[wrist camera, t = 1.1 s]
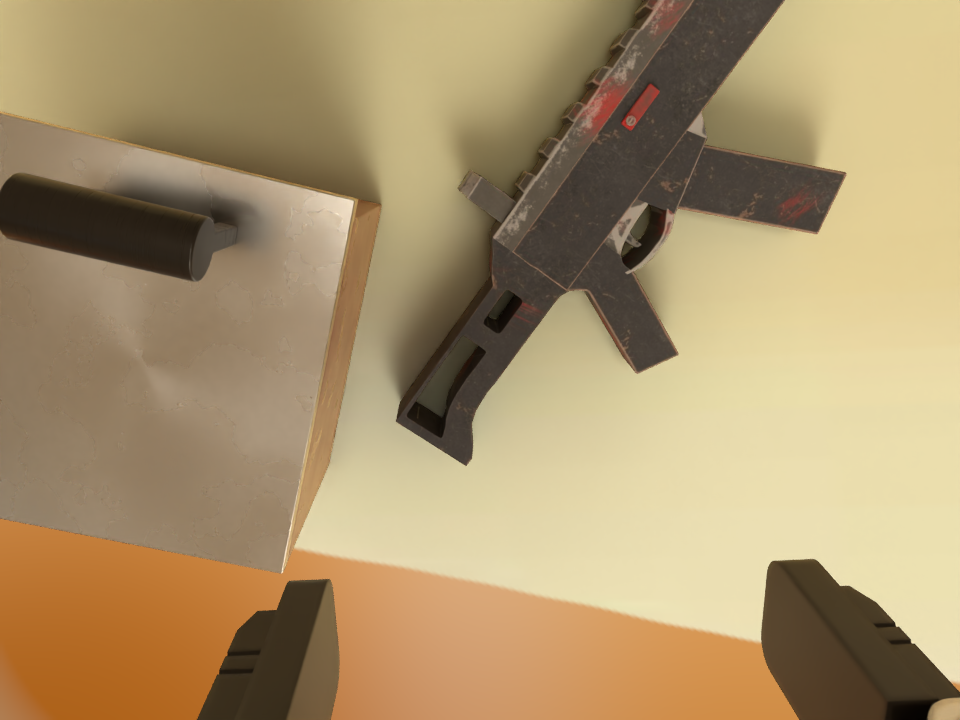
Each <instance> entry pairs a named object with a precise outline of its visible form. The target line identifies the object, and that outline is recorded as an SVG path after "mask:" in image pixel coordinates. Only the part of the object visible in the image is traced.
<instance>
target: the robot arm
mask: <svg viewBox="0 0 960 720" xmlns="http://www.w3.org/2000/svg"><path fill="white" fill-rule="evenodd" d="M336 626H337V625H336V616H335V605H334V595H333V587H332V583H331V580H330V579H323V580H300V581H289V582H288V583H287V585H286V587H285V590H284V592H283V595H282V597H281V600H280V603H279V605H278V608H277V610H269V611H257V612H256V613H255V614H254V615H253V616H252V617H251V618H250V619H249V620H248V621H247V622H246V623H245V624H244V625H242V626H241V627H240V628H239V629H238V630H237V633H236V634H235V637H234V639H233V641H232V643H231V646H230V648H229V650H228V655H227V656H226V657H225V659H224V661H223V663H222V666H221V668H220V670H219V675H217V676H216V679H215V681H214V683H213V685H212V688H211V690H210V692H209V694H208V696H207V699H206V701H205V703H204V705H203V708H202V710H201V712H200V714H199V717H198V719H197V720H331V715H332V711H333V706H334V702H335V697H336V693H337V688H338V679H339V646H338V636H337V627H336ZM761 640H762V648H763V653H764V657H765V660H766V663H767V666H768V668H769V670H770V672H771V673H772V675H773V677H774V678H775V680H776V682H777V683H778V685H779V687H780V688H781V690H782V692H783V693H784V695H785V696H786V698H787V700H788V701H789V703H790V705H791V706H792V708H793V710H794V712H795V713H796V715H797V717H798V718H799V720H960V692H959V691H958V690H957V689H956V688H955V687H954V686H953V684H952V683H951V682H950V681H949V680H948V679H947V678H946V677H945V676H944V675H943V674H942V673H941V672H940V670H939V669H938V668H937V667H936V666H935V665H934V664H933V663H932V662H931V661H930V660H929V659H928V658H927V656H926V655H925V654H924V653H923V652H922V651H921V650H920V649H919V648H918V647H917V646H916V645H915V644H912V643H911V639H910V638H909V637H908V636H907V635H906V634H905V633H904V632H903V631H902V630H901V629H900V627H896V625H895V622H894V621H893V620H892V619H891V618H890V617H889V616H888V615H887V613H886V612H885V611H884V610H883V609H882V608H881V607H880V606H879V605H878V604H877V603H876V602H875V601H873V600H871V599H870V598H868V597H866V596H865V595H863V594H862V593H860V592H858V591H857V590H855V589H853V588H852V587H850V586H839V584H838V583H837V582H836V581H835V580H834V579H833V578H832V576H831V575H830V574H829V573H828V572H827V571H826V570H825V569H824V567H823V566H822V565H821V564H820V563H819V562H818V561H816V560H814V559H805V560H782V561H772V562H771V563H770V565H769V567H768V570H767V579H766V589H765V600H764V610H763V620H762V631H761Z"/></svg>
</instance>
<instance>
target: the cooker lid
mask: <svg viewBox="0 0 960 720" xmlns="http://www.w3.org/2000/svg"><path fill="white" fill-rule="evenodd" d="M357 203H358V199H357V198H353V197H348V196H344V195H340V194H336V193H332V192H328V191H324V190H320V189H316V188H312V187H308V186H304V185H299V184H295V183H291V182H287V181H283V180H279V179H275V178H271V177H267V176H263V175H259V174H254V173H250V172H246V171H242V170H238V169H234V168H230V167H226V166H222V165H218V164H214V163H210V162H205V161H201V160H197V159H193V158H189V157H185V156H181V155H177V154H173V153H169V152H165V151H161V150H156V149H152V148H148V147H144V146H140V145H136V144H132V143H128V142H124V141H120V140H116V139H111V138H107V137H103V136H99V135H95V134H91V133H87V132H83V131H79V130H75V129H71V128H67V127H62V126H58V125H54V124H50V123H46V122H42V121H38V120H34V119H30V118H26V117H22V116H17V115H13V114H9V113H5V112H1V111H0V519H5V520H10V521H15V522H20V523H25V524H30V525H36V526H40V527H46V528H51V529H56V530H61V531H66V532H72V533H76V534H81V535H87V536H92V537H97V538H102V539H107V540H113V541H117V542H123V543H128V544H133V545H138V546H143V547H149V548H153V549H158V550H164V551H169V552H174V553H179V554H184V555H189V556H194V557H199V558H205V559H210V560H215V561H220V562H225V563H230V564H235V565H240V566H245V567H251V568H256V569H261V570H266V571H271V572H276V573H283V571H284V569H285V567H286V564H287V561H288V555H289V550H290V545H291V540H292V535H293V530H294V525H295V520H296V515H297V510H298V504H299V499H300V494H301V489H302V484H303V479H304V474H305V469H306V464H307V458H308V453H309V448H310V443H311V438H312V433H313V428H314V423H315V418H316V412H317V407H318V402H319V397H320V392H321V387H322V382H323V377H324V372H325V366H326V361H327V356H328V351H329V346H330V341H331V336H332V331H333V326H334V320H335V315H336V310H337V305H338V300H339V295H340V290H341V285H342V280H343V274H344V269H345V264H346V259H347V254H348V249H349V244H350V239H351V234H352V228H353V223H354V218H355V213H356V208H357Z"/></svg>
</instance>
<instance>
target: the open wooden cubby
mask: <svg viewBox="0 0 960 720" xmlns="http://www.w3.org/2000/svg"><path fill="white" fill-rule="evenodd" d="M381 207H382V205H381V204H377V203H373V202H368V201H364V200H360V199H358V203H357V208H356V213H355V218H354V223H353V228H352V234H351V239H350V244H349V249H348V254H347V259H346V264H345V269H344V274H343V280H342V285H341V290H340V295H339V300H338V305H337V310H336V315H335V320H334V326H333V331H332V336H331V341H330V346H329V351H328V356H327V361H326V366H325V372H324V377H323V382H322V387H321V392H320V397H319V402H318V407H317V412H316V418H315V423H314V428H313V433H312V438H311V443H310V448H309V453H308V458H307V464H306V469H305V474H304V479H303V484H302V489H301V494H300V499H299V504H298V510H297V515H296V520H295V525H294V530H293V535H292V540H291V545H290V550H289V555H288V559H289V557H290V555H291V552H292V550H293V548H294V545H295V543H296V541H297V538H298V536H299V534H300V531H301V529H302V527H303V524H304V522H305V520H306V517H307V515H308V512H309V510H310V508H311V505H312V503H313V501H314V498H315V496H316V494H317V491H318V489H319V487H320V484H321V482H322V480H323V477H324V475H325V473H326V470H327V468H328V466H329V462H330V457H331V452H332V447H333V442H334V437H335V432H336V427H337V423H338V418H339V413H340V408H341V403H342V398H343V393H344V388H345V383H346V378H347V374H348V369H349V364H350V359H351V354H352V349H353V344H354V339H355V334H356V330H357V325H358V320H359V315H360V310H361V305H362V300H363V295H364V290H365V286H366V281H367V276H368V271H369V266H370V261H371V256H372V251H373V246H374V242H375V237H376V232H377V227H378V222H379V217H380V212H381Z"/></svg>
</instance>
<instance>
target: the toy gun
mask: <svg viewBox="0 0 960 720" xmlns="http://www.w3.org/2000/svg"><path fill="white" fill-rule="evenodd" d="M784 1H785V0H644V1H643V2H642V3H641V5H640V6H639V8H638V9H637V11H636V12H635V16H636V18H637V22H636V24H635V25H634V26H633V28H629V29H628V30H626V31H625V32H623V33H622V34H620V35H619V36H618V38H617V39H616V40H615V42H614V43H613V45H612V46H611V48H610V52H611V54H612V58H611V59H610V61H609V62H608V63H607V65H606V66H602V67H600V68H598V69H596V70H595V71H594V72H593V73H592V75H591V76H590V78H589V79H588V80H587V82H586V83H585V86H586V88H587V90H588V92H587V93H586V95H585V96H584V97H583V99H582V100H581V102H576V103H573V104H571V105H570V106H569V108H568V109H567V110H566V112H565V113H564V115H563V116H562V118H561V119H562V121H563V123H564V126H563V127H562V129H561V130H560V132H559V133H558V134H557V136H556V137H555V138H554V137H551V138H547V139H546V140H545V142H544V143H543V145H542V146H541V147H540V149H539V150H538V153H539V155H540V156H541V159H540V160H539V161H538V163H537V164H536V166H535V167H534V169H533V170H532V171H531V173H529V172H526V171H524V172H523V173H522V175H521V176H520V177H519V179H518V180H517V182H516V183H515V186H516V187H517V188H518V191H517V193H516V194H515V196H514V197H513V198H511V197H509V196H508V195H507V194H506V193H505V192H503V191H501V190H500V189H498V188H497V187H496V186H494V185H493V184H491V183H490V182H489V181H487V180H486V179H484V178H483V177H482V176H480V175H478V174H476V173H475V172H473V171H472V170H470V171H469V172H468V174H467V175H466V177H465V178H464V179H463V181H462V182H461V184H460V185H459V187H458V189H459V191H461V192H462V193H463V194H464V195H466V196H467V197H466V198H468V199H469V200H470V201H472V202H473V203H475V204H476V205H477V206H479V207H480V208H481V209H483V210H484V211H486V212H487V213H488V214H490V215H491V216H492V217H493V218H495V219H496V220H497V221H496V223H495V224H494V225H493V227H492V228H491V230H490V254H489V270H490V277H489V278H488V280H487V281H486V282H485V284H484V285H483V287H482V288H481V289H480V291H479V292H478V294H477V295H476V296H475V298H474V299H473V301H472V302H471V303H470V305H469V306H468V308H467V309H466V310H465V312H464V313H463V315H462V316H461V317H460V319H459V320H458V322H457V323H456V324H455V326H454V327H453V329H452V330H451V331H450V333H449V334H448V336H447V337H446V338H445V340H444V341H443V342H442V344H441V345H440V347H439V348H438V349H437V351H436V352H435V354H434V355H433V356H432V358H431V359H430V361H429V362H428V363H427V365H426V366H425V368H424V369H423V370H422V372H421V373H420V375H419V376H418V377H417V379H416V380H415V382H414V383H413V384H412V386H411V387H410V389H409V390H408V391H407V393H406V394H405V396H404V397H403V398H402V400H401V401H400V404H399V409H398V414H397V419H396V422H398V423H399V424H401V425H402V426H404V427H405V428H407V429H409V430H410V431H412V432H413V433H415V434H416V435H418V436H420V437H421V438H423V439H424V440H426V441H428V442H429V443H431V444H432V445H434V446H435V447H437V448H439V449H440V450H442V451H443V452H445V453H447V454H448V455H450V456H451V457H453V458H454V459H456V460H458V461H459V462H461V463H462V464H464V465H465V466H467V464H468V463H469V462H470V460H471V459H472V452H473V434H472V421H473V418H474V415H475V412H476V410H477V408H478V406H479V405H480V403H481V401H482V400H483V398H484V397H485V395H486V393H487V392H488V391H489V390H490V388H491V387H492V386H493V385H494V384H495V382H496V381H497V380H498V378H499V377H500V376H501V374H502V373H503V372H504V370H505V369H506V368H507V366H508V365H509V364H510V362H511V361H512V359H513V358H514V357H515V355H516V354H517V353H518V351H519V350H520V349H521V347H522V346H523V345H524V343H525V342H526V341H527V339H528V338H529V337H530V335H531V334H532V332H533V331H534V330H535V328H536V327H537V326H538V324H539V323H540V322H541V320H542V319H543V318H544V316H545V315H546V314H547V312H548V311H549V309H550V308H551V307H552V305H553V304H554V303H555V302H556V301H557V299H558V298H559V297H560V296H561V295H563V294H565V293H566V292H569V291H574V290H582V291H585V293H586V295H587V296H588V298H589V300H590V302H591V303H592V305H593V307H594V308H595V310H596V312H597V313H598V315H599V317H600V318H601V320H602V322H603V324H604V325H605V327H606V329H607V330H608V332H609V334H610V335H611V337H612V339H613V341H614V342H615V344H616V346H617V347H618V349H619V351H620V352H621V354H622V356H623V357H624V359H625V360H626V361H627V363H628V364H629V365H630V366H631V368H632V369H633V370H634V371H635V373H637V374H638V373H640V372H643V371H645V370H647V369H649V368H651V367H653V366H655V365H658V364H660V363H662V362H664V361H666V360H668V359H671V358H673V357H675V356H677V355H678V352H677V350H676V348H675V346H674V344H673V342H672V341H671V339H670V337H669V335H668V333H667V332H666V330H665V328H664V326H663V324H662V323H661V321H660V319H659V317H658V315H657V314H656V312H655V310H654V308H653V306H652V305H651V303H650V301H649V299H648V297H647V296H646V294H645V292H644V290H643V288H642V286H641V285H640V283H639V281H638V279H637V277H636V276H635V274H634V272H633V271H635V270H637V269H639V268H641V267H642V266H644V265H645V264H646V263H647V262H649V261H650V260H651V259H652V258H653V257H654V255H655V254H656V253H657V251H658V250H659V249H660V247H661V246H662V245H663V243H664V242H665V241H666V240H667V238H668V236H669V234H670V231H671V229H672V225H673V221H674V214H675V213H676V210H677V208H678V209H684V210H689V211H694V212H700V213H705V214H710V215H716V216H721V217H727V218H732V219H737V220H743V221H748V222H753V223H759V224H764V225H770V226H775V227H780V228H786V229H791V230H796V231H802V232H807V233H813V234H818V233H819V230H820V228H821V226H822V224H823V222H824V220H825V218H826V216H827V214H828V212H829V210H830V208H831V206H832V204H833V202H834V199H835V197H836V195H837V193H838V191H839V189H840V187H841V185H842V183H843V181H844V179H845V177H846V173H845V172H841V171H836V170H830V169H825V168H820V167H815V166H810V165H805V164H800V163H794V162H789V161H784V160H779V159H774V158H769V157H764V156H758V155H753V154H748V153H743V152H738V151H733V150H728V149H722V148H717V147H712V146H707V145H704V144H705V142H706V140H707V135H706V130H705V126H704V121H703V116H702V110H703V109H704V108H705V106H706V105H707V104H708V102H709V101H710V100H711V98H712V97H713V96H714V94H715V93H716V92H717V90H718V89H719V88H720V86H721V85H722V84H723V82H724V81H725V80H726V78H727V77H728V76H729V74H730V73H731V72H732V70H733V69H734V68H735V66H736V65H737V64H738V62H739V61H740V60H741V58H742V57H743V56H744V54H745V53H746V52H747V50H748V49H749V48H750V46H751V45H752V44H753V42H754V41H755V40H756V38H757V37H758V36H759V34H760V33H761V32H762V30H763V29H764V28H765V26H766V25H767V24H768V22H769V21H770V20H771V18H772V17H773V16H774V14H775V13H776V12H777V10H778V9H779V8H780V6H781V5H782V4H783V2H784ZM648 205H650V206H651V209H650V218H649V224H648V227H647V229H646V231H645V233H644V234H643V236H642V237H641V238H640V240H639V241H636V240H635V239H634V238H633V236H632V235H631V233H630V231H631V229H632V227H633V226H634V224H635V223H636V221H637V219H638V218H639V216H640V215H641V214H642V212H643V211H644V210H645V208H646V207H647V206H648ZM625 241H626V242H627V243H629V244H630V245H632V246H633V248H632V249H631V250H630V251H629V252H628V253H627V254H626V255H625V256H624V257H622V258H621V251H622V247H623V245H624V242H625ZM506 290H509V291H511V292H512V293H514V294H515V296H514V297H513V298H512V300H511V301H510V303H509V304H508V305H507V307H506V308H505V310H504V311H503V312H502V314H501V315H500V316H499V318H498V319H497V320H493V319H492V318H490V317H489V316H487V315H488V314H489V313H490V311H491V310H492V308H493V307H494V306H495V304H496V303H497V301H498V300H499V299H500V297H501V296H502V295H503V293H504V292H505V291H506ZM462 336H465V337H466V338H468V339H469V340H471V341H472V342H474V343H475V344H477V345H478V347H477V348H476V349H475V351H474V352H473V353H472V355H471V356H470V357H469V359H468V360H467V361H466V363H465V364H464V366H463V367H462V369H461V370H460V372H459V373H458V375H457V376H456V378H455V380H454V382H453V384H452V386H451V388H450V390H449V394H448V398H447V403H446V409H445V413H444V416H443V417H442V418H441V417H439V416H438V415H436V414H435V413H433V412H431V411H430V410H428V409H427V408H425V407H424V406H422V405H421V404H419V403H417V402H416V400H417V398H418V397H419V395H420V394H421V392H422V391H423V390H424V388H425V387H426V385H427V384H428V382H429V381H430V380H431V378H432V377H433V375H434V374H435V373H436V371H437V370H438V368H439V367H440V366H441V364H442V363H443V361H444V360H445V359H446V357H447V356H448V355H449V353H450V352H451V350H452V349H453V348H454V346H455V345H456V343H457V342H458V341H459V339H460V338H461V337H462Z"/></svg>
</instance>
